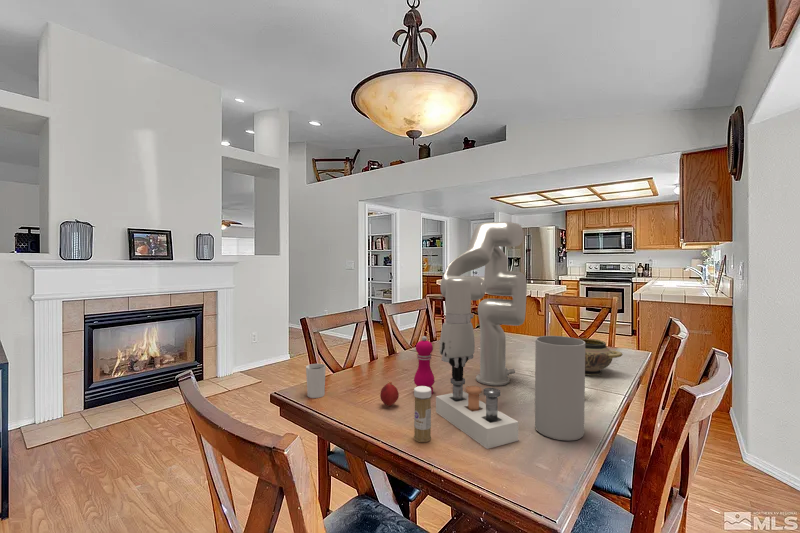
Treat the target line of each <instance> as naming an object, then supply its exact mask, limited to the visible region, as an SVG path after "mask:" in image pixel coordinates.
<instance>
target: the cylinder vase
mask: <svg viewBox="0 0 800 533" xmlns="http://www.w3.org/2000/svg"><path fill="white" fill-rule="evenodd" d="M580 339H581V338H577V337H576V338H575V337H571V336H563V335H561V336H559V335H543V336H541V335H540V336H538V337H535V348H534V349H535V352H534V354H535V364H534V365H535V368H534V370H535V371H534V372H535V374H534V376H535V379H534V383H535V384H534V426H535V429H536V430H537V432H538V433H540V434H541V435H542V436H545V437H548V438H550V439H553V440H556V441H557V440H558V441H567V442H569V441H577V440H579V439H581V438H583V436H584V435H585V406H586V405H585V401H586V400H585V395H586V394H585V393H586V392H585V389H586V386H585V385H586V383H585V382H586V375H585V342H584V341H583V340H580Z"/></svg>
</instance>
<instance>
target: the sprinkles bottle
mask: <svg viewBox="0 0 800 533" xmlns="http://www.w3.org/2000/svg"><path fill="white" fill-rule="evenodd" d="M413 396H414V413H413V414H414V415H413V416H414V417H413V419H414V420H413V421H414V422H413V423H414V424H413V426H414V432H413V433H414V434H413V439H414V441H416V442H419V443H427V442H429V441H431V439H432V437H431V434H432V433H431V432H432V431H431V428H432V427H431V426H432V406H431V405H432V404H431V402H432V401H431V400H432V394H431V388H429V387H427V386H418V387H414V388H413Z"/></svg>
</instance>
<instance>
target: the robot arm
mask: <svg viewBox="0 0 800 533" xmlns="http://www.w3.org/2000/svg"><path fill="white" fill-rule="evenodd" d="M524 236H525V235H524V229H523V228H522V225H521V224H519V223H516V222H511V221H494V222H493V221H490V222H482V223H479V224H477V225H476V227H475V228H474V229H473V233H472V235H471V239H470V240H469V244H468V246H467V249H466V251H464V252H463V253H461V254H460V255H458V256H457V257H456V258H455V259H453V260H452V261H451V262H449V264H448V265H447V266H446V268H445V270H444V273H443V275H442V279H441V282H440V293H441V295H442V297H444V298H445V322H443V323H442V325H441V330H440V331H441V332H440V338H439V355H441V361H442V362H444V363H448V364H449V365H450V366H451V378H453V379H455V380H456V381H462V380H463V378H464V367H466V364H467V362H468V361H470V360H472V359H474V354H475V350H476V349H475V347H476V346H475V344H476V342H475V331H474V326H473V323H472V320H471V319H474V314H473V313H472V311H471V310H472V308H471V307H472V301H479V300H481V299H483V298H484V297H485V295H486V294H487V295H491V296H499V297H500V296H502V297H512V299H504V298H484V299H483V300H481V301H480V302H479V303H478V305H477V315H478V322H479V334H480V336H479V337H480V339H479V341H480V342H479V350H480V351H479V355H480V356H479V373H478V374H477V375H476V376H475V380H476V381H477V383H480V384H482V385H487V386H496V387H498V386H506V385H508V384H509V383H510V377H509V376H510V375H512V374H513V375H515V374H516V370H515V368H509V369H508V368H507V367H506V348H507V347H506V346H507V344H506V343H507V342H506V341H507V338H506V333H505V331H504V329H503V328H502V326H501V325H505V326H515V327H517V326H522V325H523V324H524V323H525V319H526V312H527V309H526V308H527V291H528V290H527V289H528V288H527V287H528V286H527V285H528V284H527V277H526V275H525V274H524V273H523V272H522V271H515V270H514V271H512V270H508V262H509V260H508V257H507V255H506V253H505V252H504V251H503V250H502V248H501V247H505V248H506V247H507V248H509V247H513V248H514V247H519V246H520V245H521V244H522V243H523V240H524ZM483 267H484V274H483V275H484V278H481V277H479V276H469V275H464V274H466V273H468V272H471V271H474V270H477V269H479V268H483Z"/></svg>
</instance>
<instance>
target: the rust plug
mask: <svg viewBox="0 0 800 533" xmlns="http://www.w3.org/2000/svg"><path fill="white" fill-rule="evenodd" d="M482 391H483V388H482V387H481V386H478V385H467V386H466V387H465V393H467V394H468V409H469V410H470V411H472V412H473V411H477V410H479V400H480V395H481V394H482V393H483V392H482Z"/></svg>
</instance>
